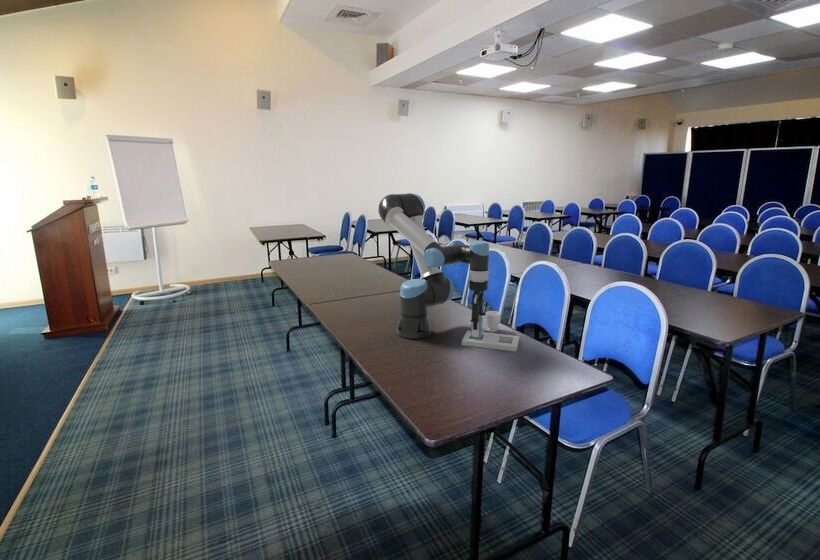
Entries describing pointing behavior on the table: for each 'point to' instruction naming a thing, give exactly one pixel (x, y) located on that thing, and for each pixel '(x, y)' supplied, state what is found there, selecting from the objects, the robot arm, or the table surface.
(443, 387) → the table surface
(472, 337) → the plug
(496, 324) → the cup
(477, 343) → the panel
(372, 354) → the table surface
